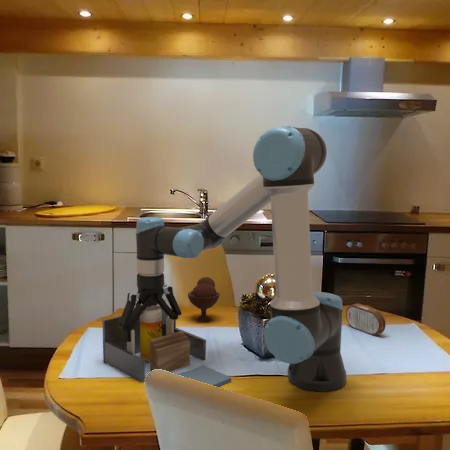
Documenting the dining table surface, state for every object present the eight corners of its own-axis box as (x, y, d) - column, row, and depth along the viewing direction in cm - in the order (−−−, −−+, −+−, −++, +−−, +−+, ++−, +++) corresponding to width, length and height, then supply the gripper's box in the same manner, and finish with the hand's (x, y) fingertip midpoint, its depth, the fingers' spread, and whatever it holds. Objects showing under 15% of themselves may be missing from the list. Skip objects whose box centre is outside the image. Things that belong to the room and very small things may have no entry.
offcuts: (190, 364, 150) (190, 333, 148) (158, 376, 142) (157, 343, 141) (181, 361, 152) (181, 330, 151) (149, 372, 145) (149, 339, 143)
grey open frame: (205, 359, 153) (206, 319, 151) (141, 382, 138) (141, 337, 136) (165, 342, 166) (165, 304, 165) (103, 361, 151) (102, 320, 150)
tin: (385, 337, 173) (386, 311, 172) (379, 339, 172) (380, 313, 170) (350, 324, 186) (351, 300, 184) (343, 325, 184) (344, 301, 183)
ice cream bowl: (187, 315, 193) (187, 274, 191) (218, 314, 194) (218, 274, 192) (188, 325, 182) (188, 282, 180) (221, 324, 184) (221, 281, 181)
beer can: (158, 363, 150) (157, 311, 148) (137, 361, 151) (136, 310, 149) (164, 355, 156) (164, 305, 154) (144, 353, 157) (144, 304, 155)
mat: (231, 381, 139) (231, 377, 139) (199, 394, 132) (199, 390, 132) (203, 368, 147) (203, 364, 147) (171, 380, 140) (171, 376, 140)
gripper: (177, 264, 161) (177, 332, 164) (103, 277, 144) (105, 353, 147) (193, 268, 156) (193, 339, 159) (119, 283, 139) (120, 361, 142)
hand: (151, 346), depth 153 cm, fingers open, 13 cm apart
